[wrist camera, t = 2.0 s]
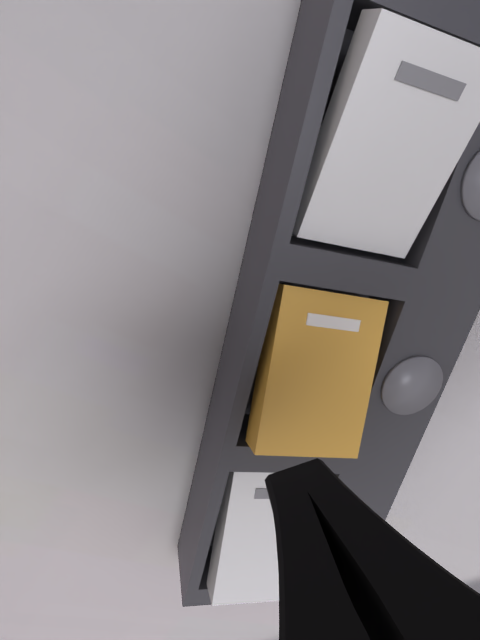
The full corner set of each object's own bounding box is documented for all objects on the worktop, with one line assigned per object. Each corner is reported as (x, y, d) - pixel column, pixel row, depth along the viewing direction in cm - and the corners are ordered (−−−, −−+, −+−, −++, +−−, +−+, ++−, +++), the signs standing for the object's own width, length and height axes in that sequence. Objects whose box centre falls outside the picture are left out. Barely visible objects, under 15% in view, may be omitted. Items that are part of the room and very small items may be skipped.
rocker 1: (314, 457, 21) (327, 471, 20) (291, 578, 22) (302, 599, 21) (227, 454, 20) (235, 469, 18) (206, 583, 21) (212, 607, 19)
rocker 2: (484, 58, 14) (514, 61, 12) (388, 243, 17) (405, 259, 16) (362, 9, 12) (383, 8, 11) (287, 222, 16) (297, 237, 15)
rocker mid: (370, 298, 18) (389, 301, 17) (341, 444, 19) (358, 459, 18) (272, 282, 17) (284, 284, 16) (245, 440, 18) (255, 456, 16)
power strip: (514, 66, 17) (603, 46, 14) (310, 583, 28) (333, 642, 25) (305, -17, 15) (353, -67, 11) (167, 592, 25) (170, 660, 22)
